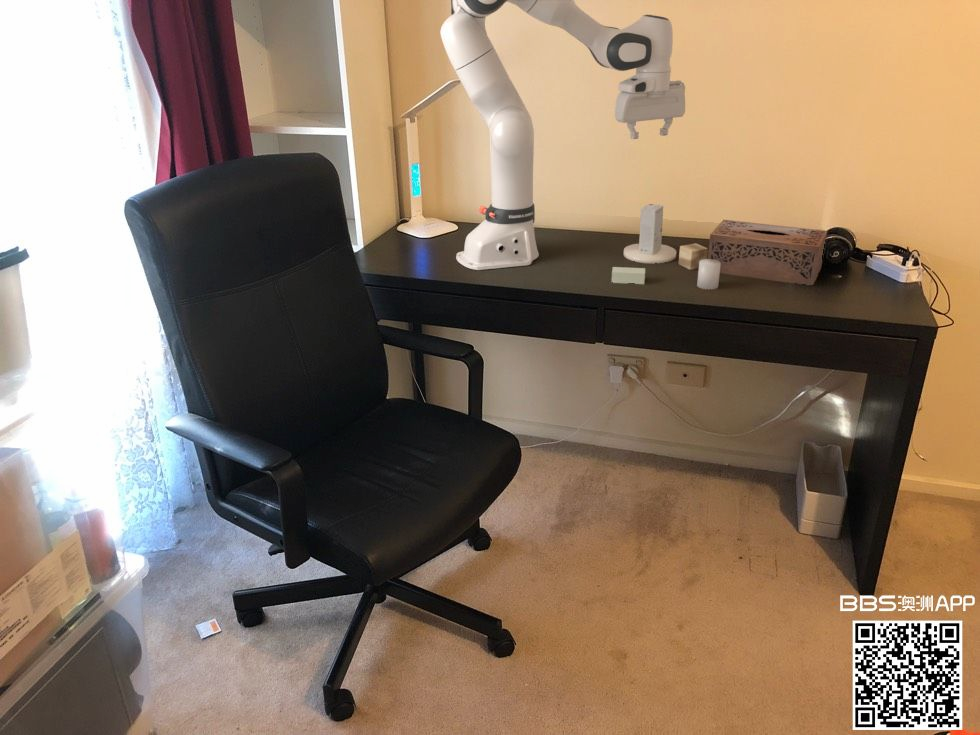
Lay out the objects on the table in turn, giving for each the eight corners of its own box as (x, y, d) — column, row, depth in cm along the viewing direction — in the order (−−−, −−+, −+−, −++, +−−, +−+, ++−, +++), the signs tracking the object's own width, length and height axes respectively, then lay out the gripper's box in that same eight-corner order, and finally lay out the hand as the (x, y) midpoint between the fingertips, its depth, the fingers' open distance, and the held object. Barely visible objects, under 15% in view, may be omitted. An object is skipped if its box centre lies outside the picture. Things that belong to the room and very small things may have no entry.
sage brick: (611, 283, 199) (612, 272, 197) (612, 278, 202) (612, 266, 201) (644, 285, 197) (644, 273, 196) (644, 279, 201) (645, 268, 200)
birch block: (690, 269, 206) (691, 251, 204) (678, 264, 210) (680, 246, 208) (705, 267, 208) (707, 248, 206) (694, 261, 212) (695, 243, 210)
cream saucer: (642, 266, 209) (642, 262, 208) (613, 251, 220) (613, 247, 220) (686, 258, 214) (687, 254, 213) (656, 244, 225) (656, 240, 225)
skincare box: (653, 255, 213) (656, 210, 208) (637, 252, 215) (640, 208, 210) (661, 249, 218) (665, 205, 212) (646, 246, 220) (649, 203, 214)
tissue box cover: (820, 268, 205) (827, 230, 201) (812, 286, 194) (819, 247, 189) (719, 255, 216) (723, 219, 212) (706, 272, 205) (710, 234, 200)
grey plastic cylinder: (705, 290, 192) (708, 267, 190) (692, 284, 196) (695, 261, 194) (722, 287, 194) (725, 263, 191) (709, 281, 198) (711, 257, 196)
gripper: (678, 78, 215) (673, 131, 221) (613, 84, 208) (610, 138, 214) (692, 81, 210) (688, 135, 216) (626, 86, 203) (623, 142, 209)
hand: (649, 137), depth 215 cm, fingers open, 8 cm apart
